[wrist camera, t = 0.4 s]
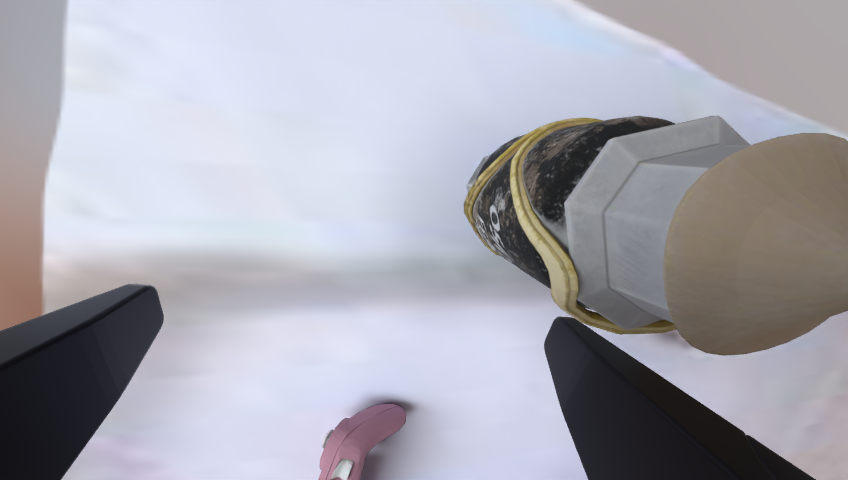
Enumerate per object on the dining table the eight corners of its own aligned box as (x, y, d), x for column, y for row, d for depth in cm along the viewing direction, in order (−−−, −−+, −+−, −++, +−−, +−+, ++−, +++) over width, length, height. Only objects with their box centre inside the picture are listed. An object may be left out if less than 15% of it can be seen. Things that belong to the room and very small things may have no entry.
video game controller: (363, 381, 27) (307, 437, 20) (412, 405, 26) (369, 474, 19) (340, 476, 29) (282, 557, 22) (385, 503, 27) (337, 598, 21)
